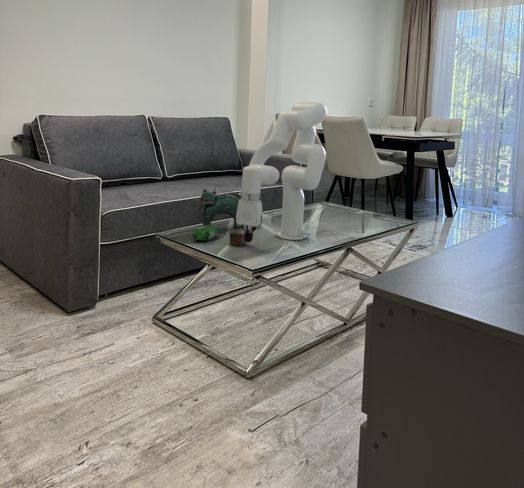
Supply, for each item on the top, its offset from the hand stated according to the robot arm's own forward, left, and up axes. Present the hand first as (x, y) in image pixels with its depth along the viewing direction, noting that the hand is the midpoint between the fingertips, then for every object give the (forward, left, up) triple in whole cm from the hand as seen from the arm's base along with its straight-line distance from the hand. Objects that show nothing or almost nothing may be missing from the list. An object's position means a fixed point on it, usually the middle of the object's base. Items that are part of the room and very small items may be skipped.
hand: (248, 241), depth 202 cm
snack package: (+20, 0, -2) cm, 20 cm away
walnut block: (+5, 0, -2) cm, 5 cm away
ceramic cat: (+24, -22, -2) cm, 33 cm away
